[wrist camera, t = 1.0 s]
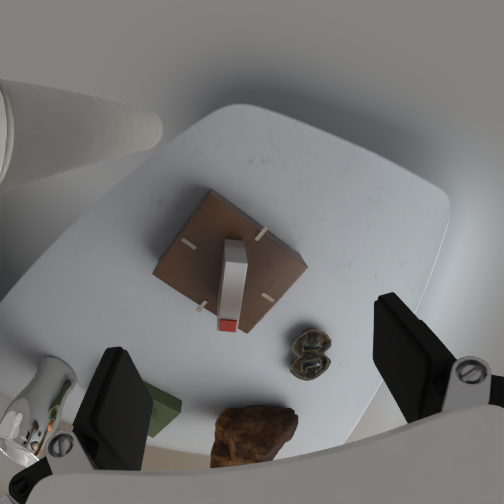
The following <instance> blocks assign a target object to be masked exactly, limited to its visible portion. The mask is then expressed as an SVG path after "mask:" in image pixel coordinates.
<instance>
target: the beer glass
mask: <svg viewBox="0 0 504 504" xmlns="http://www.w3.org/2000/svg"><path fill="white" fill-rule="evenodd" d="M76 382H77V380H76V376H75V374H74V372H73V371H72V369H71V368H70V367H69V366H68V365H67V364H66V363H64V362H63V361H61V360H60V359H57V358H55V357H50V356H47V357H43V358H42V359H41V360H40V362H39V365H38V368H37V371H36V373H35V375H34V377H33V378H32V380H31V381H30V382H29V384H28V385H27V386H26V387H25V388H24V389H23V390H22V391H21V392H20V393H19V394H18V395H17V396H16V397H15V399H14V400H13V401H12V402H11V404H10V405H9V407H8V408H7V410H6V411H5V413H4V415H3V417H2V420H1V422H0V450H1V451H2V452H3V453H4V454H5V455H6V456H7V457H9V458H10V459H11V460H13V461H14V462H16V463H17V464H19V465H21V466H23V467H25V468H27V467H29V466H30V465H32V464H34V463H35V462H37V461H39V460H40V459H42V458H43V457H45V456H46V454H45V444H46V442H47V440H48V439H49V438H50V436H51V435H53V434H54V433H56V432H58V431H59V426H60V421H61V416H62V411H63V406H64V403H65V400H66V398H67V397H68V395H69V394H70V393H71V391H72V390H73V389H74V387H75V386H76Z"/></svg>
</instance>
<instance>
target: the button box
mask: <svg viewBox="0 0 504 504" xmlns="http://www.w3.org/2000/svg"><path fill="white" fill-rule="evenodd" d="M143 382H144V381H143ZM144 384H145V386H146V388H147V390H148V391H149V393H150V395H151V397H152V399H153V409H152V414H151V419H150V424H149V429H148V434H147V435H148V436H150V437H152V438H153V437H155V436H156V435H157V434H158V433H159V432H160V431H161V430H162V429H163V428H165V427H166V426H167V425H168V424H169V423H170V422H171V421H172V420H173V419H174V418H175V417H176V416H178V415H179V414H180V413H181V404H182V401H181V400H179V399H177V398H175V397H173V396H171V395H169V394H167V393H165V392H163V391H161V390H159V389H157V388H155V387H153V386H151V385H150V384H148V383H146V382H144Z"/></svg>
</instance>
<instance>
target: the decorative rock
mask: <svg viewBox="0 0 504 504" xmlns="http://www.w3.org/2000/svg"><path fill="white" fill-rule="evenodd" d="M294 412H295V411H294V410H293V409H291V408H284V409H280V408H276V407H259V406H253V407H251V408H247V409H241V410H239V409H225V410H223V412H222V413H221V414H220V415H219V417H218V419H217V420H216V423H215V427H216V429H215V442H214V444H213V447H212V450H211V462H210V468H221V467H231V466H239V465H247V464H254V463H261V462H267V461H272V460H273V458H274V457H275V456H276V454H277V453H278V451H279V450H280V449H281V448H282V447H283V445H284V444H285V442H288V441H289V440H291V439H292V437H293V435H294V432H295V430H296V428H297V425H298V416H297V415H295V413H294Z"/></svg>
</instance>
